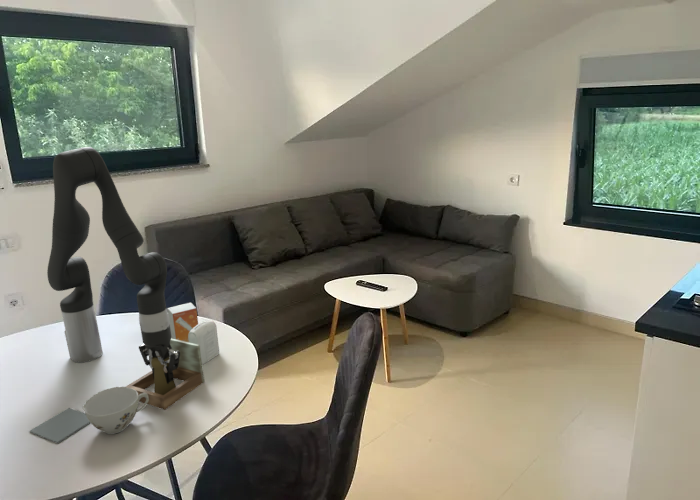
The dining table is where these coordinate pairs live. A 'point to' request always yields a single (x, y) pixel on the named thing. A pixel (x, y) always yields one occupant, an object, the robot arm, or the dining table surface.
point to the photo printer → (205, 339)
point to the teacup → (113, 408)
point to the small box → (182, 320)
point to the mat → (61, 425)
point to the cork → (161, 378)
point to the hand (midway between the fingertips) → (163, 380)
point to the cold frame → (175, 376)
